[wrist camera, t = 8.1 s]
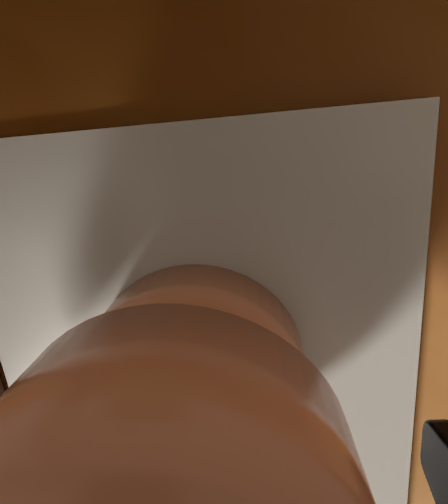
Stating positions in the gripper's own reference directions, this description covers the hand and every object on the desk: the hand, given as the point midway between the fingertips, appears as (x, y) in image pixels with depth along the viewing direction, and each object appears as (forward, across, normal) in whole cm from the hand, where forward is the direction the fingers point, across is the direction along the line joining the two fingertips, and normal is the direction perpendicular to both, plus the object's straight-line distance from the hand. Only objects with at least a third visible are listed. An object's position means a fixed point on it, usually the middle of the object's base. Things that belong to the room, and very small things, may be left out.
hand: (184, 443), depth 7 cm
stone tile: (+3, 0, 0) cm, 3 cm away
